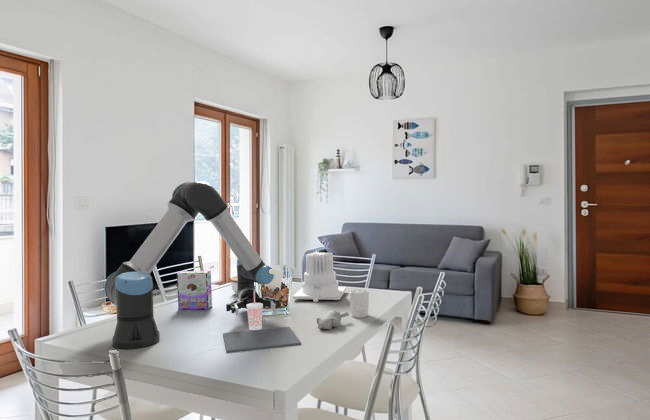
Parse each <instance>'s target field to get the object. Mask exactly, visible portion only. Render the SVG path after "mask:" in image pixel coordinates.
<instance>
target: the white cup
mask: <svg viewBox="0 0 650 420" xmlns="http://www.w3.org/2000/svg"><path fill="white" fill-rule="evenodd" d="M369 300H370V291H369V290H368V289H365V288H355V289H350V290H349V304H350V305H349V306H350V315H351V317H352V318H360V319H361V318H367V317H368V316H369V305H370V304H369V303H370V302H369Z"/></svg>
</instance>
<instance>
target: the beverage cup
mask: <svg viewBox="0 0 650 420" xmlns="http://www.w3.org/2000/svg"><path fill="white" fill-rule="evenodd" d="M255 291H256V290H255ZM255 291H254V303H250V304H247V305H246V306H247V321H248V329H249V330H248V331H250V330H260V329H263V327H262V326H263V325H262V324H263V307H264V306H263V304H262V303H255Z"/></svg>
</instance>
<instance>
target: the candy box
mask: <svg viewBox="0 0 650 420" xmlns="http://www.w3.org/2000/svg"><path fill="white" fill-rule="evenodd" d="M176 280H177V281H176V283H177V303H178V304H177V306H178V308H177V309H178V311H188V310H189V311H191V310H193V311H194V310H195V311H198V310H199V311H200V310H203V311H204V310H205V311H206V310H210V309H211V308H212V307H213V295H212V289H213V287H212V271H211V270H189V271H186V270H184V271H179V272H177V273H176Z"/></svg>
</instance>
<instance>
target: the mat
mask: <svg viewBox="0 0 650 420" xmlns="http://www.w3.org/2000/svg"><path fill="white" fill-rule="evenodd" d="M222 337H223V342H224V346H225V351H226V353H227V354H228V353H236V352H244V351H245V352H246V351H252V350H263V349H272V348H273V349H274V348H279V347H281V348H282V347H290V346H291V347H292V346H298V345H302V342H301V340H300V339H299V338H298V336H297V335H296V334H295V332H294V331H293V330H292V329H291V327H290V326H283V327H273V328H261V329H260V330H243V331H232V332H231V331H230V332H223V333H222Z"/></svg>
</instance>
